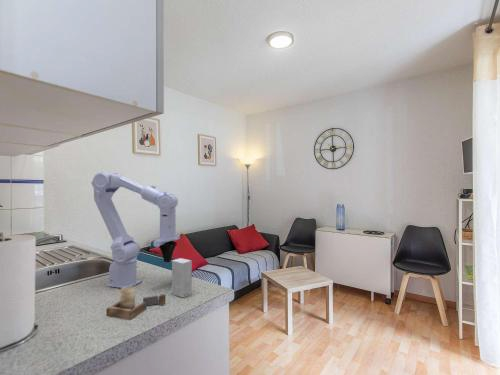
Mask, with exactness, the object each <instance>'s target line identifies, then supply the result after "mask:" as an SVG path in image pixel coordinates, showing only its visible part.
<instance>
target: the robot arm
mask: <svg viewBox="0 0 500 375" xmlns="http://www.w3.org/2000/svg"><path fill="white" fill-rule="evenodd" d="M90 184H91V186H92V187H93V200H94V202H95V205H96V207H97V209H98V211H99V213H100V215H101V217H102V219H103V222H104V225H105V226H106V228H107V230H108V233H109V235H110V238H111V239H112V242H111V245H110V249H111V252H112V254H111V257H112V260H113V261H112V262H111V263H110V265H109V269H108V284H106V286H107V287H110V288H111V287H113V288H117V289H118V288H119V289H122V288H124V287H128V286H133V287H135V286H136V285H138V284H140V283H142V280H141V279H138V278H137V277H138V276H137V273H138V271H137V269H138V267H137V265H138V263H137V262H138V261H137V260H138V255H139V254H140V253H141V252H140V251H141V247H140V245H139V243H137V242H136V241H135V240H134V237H132V236H131V235H129V234H128V232H127V230H126V228H125V225H124V224H123V222H122V219H121V216H120V215H119V213H118V210H117V209H116V206H115V203H114V202H113V200H112V198H113V196H114V194H115V193H116V192H117V191H118V190H119V189H120V188H124V189H126V190H130V191H132V192H134V193H137V194H139V195H140V196H141V199H142V200H144V201H146V202H148V203H151V204H153V205H155V206H157V207H158V209H159V237H157V239H156V240H153V247H155V248H156V247H157V248H159V250H160V251H161V252H160V253H161V254H162V258H163V261H164V262H165V263H170V262H172V257H173V254H174V250H175V249H176V247H177V245H178V242H177V240H180V238H181V235H180V234H179V233H176V219H177V218H176V216H177V215H176V210H177V208H176V207H177V206H178V203H179V201H178V198H177V196H176V195H174V194H173V193H167V191H166V190H163V191H162V190H161V189H158V188H157V186H156V185H147V186H144V185H142V184H140V183H138V182H136V181H134V180H132V179H130V178H128V177H126V176H124V175H123V174H119V173H113V172H112V173H111V172H110V173H109V172H103V171H101V172H98V173H95V175H94V176H93V178H92V181H91V183H90Z"/></svg>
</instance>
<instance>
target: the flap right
mask: <svg viewBox="0 0 500 375" xmlns="http://www.w3.org/2000/svg"><path fill="white" fill-rule="evenodd" d="M159 295H160V294H158V295H152V296H144V297H142V303H143V302H146V306H151V305H159Z"/></svg>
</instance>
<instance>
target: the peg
mask: <svg viewBox="0 0 500 375" xmlns="http://www.w3.org/2000/svg"><path fill="white" fill-rule="evenodd" d="M119 296H120V297H119V299H120V300H119V301H120V308H125V309H133V308H135V307H136V287H135V286H128V287H124V288H120V295H119Z"/></svg>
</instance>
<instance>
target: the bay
mask: <svg viewBox="0 0 500 375" xmlns="http://www.w3.org/2000/svg"><path fill="white" fill-rule="evenodd" d="M145 310H147V305H146V302H143V301H142V302H141V303H140V304H138V305H137V306H136V305H135V308H133V309H125V308H120V300H119V301H118V302H116V303H113V304H112V305H111V306H108V307H107V308H106V316H107V317H113V318H119V319H125V320H130V321H131V320H132V319H134V318H135V317H137V316H138V315H139V314H141V313H142V312H144V311H145Z"/></svg>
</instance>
